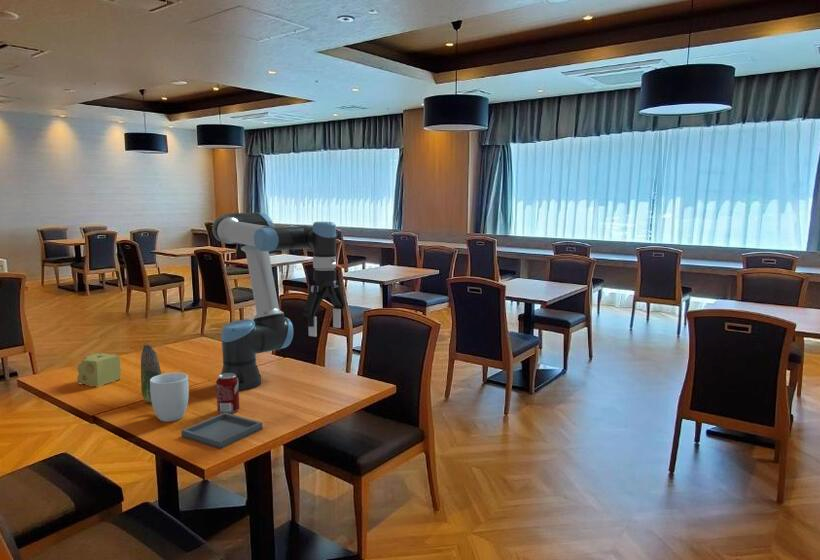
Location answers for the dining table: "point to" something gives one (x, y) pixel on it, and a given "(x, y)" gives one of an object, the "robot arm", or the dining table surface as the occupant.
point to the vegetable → (148, 370)
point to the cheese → (99, 369)
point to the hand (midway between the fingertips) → (325, 331)
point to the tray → (222, 430)
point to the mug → (169, 395)
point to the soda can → (227, 393)
